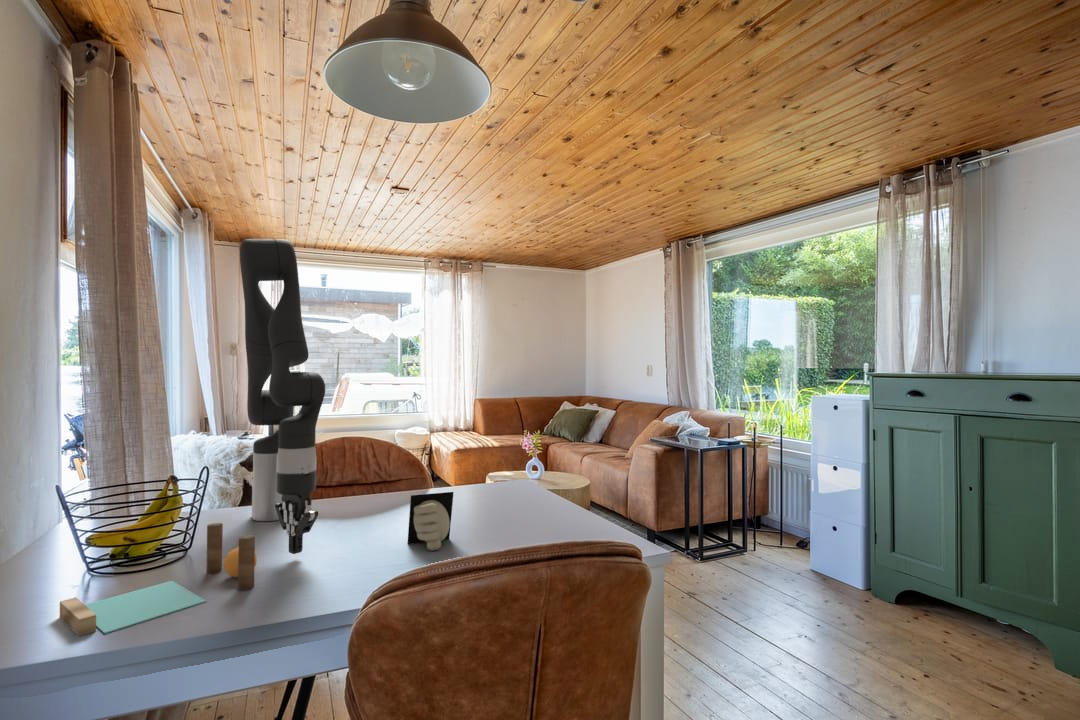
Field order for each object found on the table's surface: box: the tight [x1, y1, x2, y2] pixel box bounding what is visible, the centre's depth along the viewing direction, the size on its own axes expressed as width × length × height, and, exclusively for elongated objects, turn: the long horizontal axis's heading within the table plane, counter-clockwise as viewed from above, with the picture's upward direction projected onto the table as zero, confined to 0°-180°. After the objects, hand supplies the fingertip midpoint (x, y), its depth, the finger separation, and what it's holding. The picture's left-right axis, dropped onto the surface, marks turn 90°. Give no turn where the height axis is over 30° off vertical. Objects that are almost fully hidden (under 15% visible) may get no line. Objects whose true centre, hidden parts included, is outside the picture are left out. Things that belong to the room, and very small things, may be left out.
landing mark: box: [84, 580, 207, 635], centre depth 92 cm, size 14×14×1 cm
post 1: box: [205, 522, 224, 575], centre depth 107 cm, size 3×3×9 cm
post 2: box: [237, 535, 256, 592], centre depth 100 cm, size 3×3×9 cm
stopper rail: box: [59, 597, 97, 637], centre depth 85 cm, size 10×2×2 cm, turn 54°
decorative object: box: [407, 491, 455, 551], centre depth 123 cm, size 12×10×10 cm
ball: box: [223, 546, 258, 578], centre depth 105 cm, size 6×6×6 cm
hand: (295, 552), depth 114 cm, fingers closed
